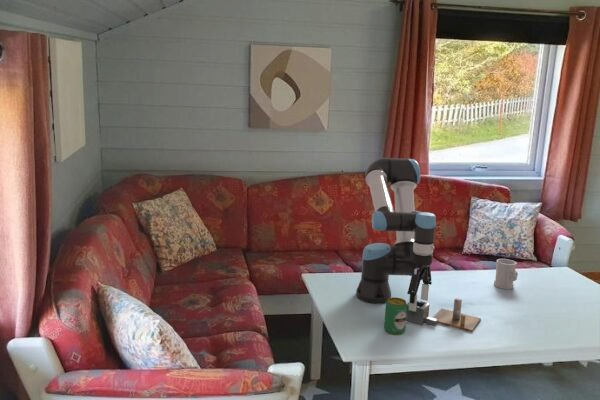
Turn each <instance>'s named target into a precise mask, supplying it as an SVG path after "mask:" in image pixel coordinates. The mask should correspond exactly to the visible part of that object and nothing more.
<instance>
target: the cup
mask: <svg viewBox="0 0 600 400" xmlns="http://www.w3.org/2000/svg"><path fill="white" fill-rule="evenodd" d="M517 264H518V263H517V262H516V261H515V260H511V259H507V258H498V259H496V265H495V266H496V269H495V280H493V281H494V282H493V285H494V287H497V288H499V289H503V290H511V289H513V288H514V286H515V284H514V282H515V281H517V278H518V276H519V275H518V271H517V270H516V268H517Z"/></svg>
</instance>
